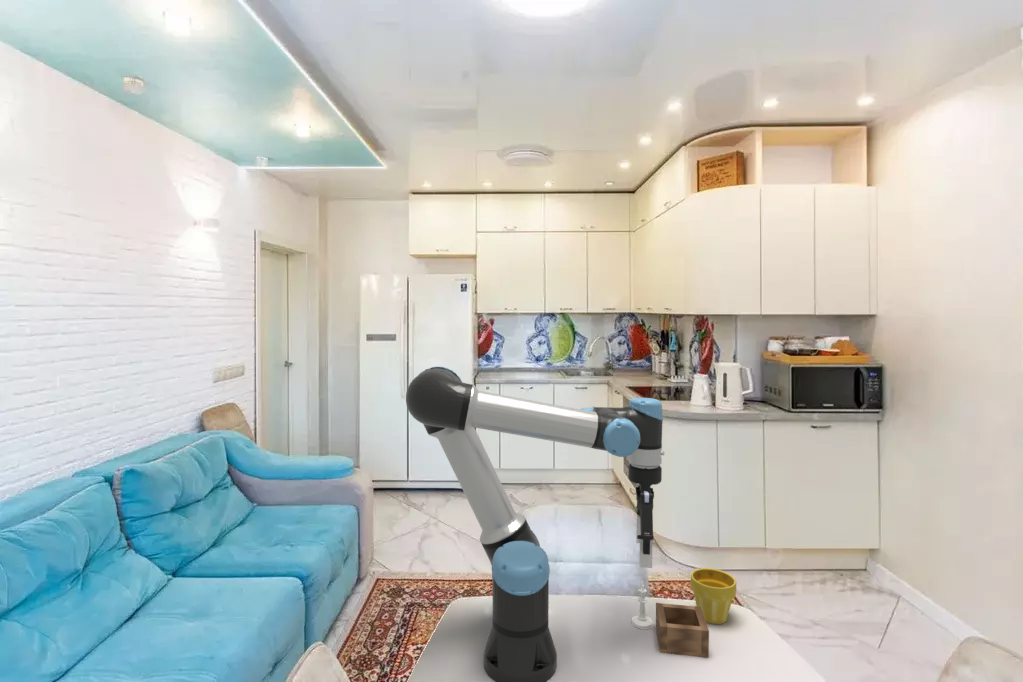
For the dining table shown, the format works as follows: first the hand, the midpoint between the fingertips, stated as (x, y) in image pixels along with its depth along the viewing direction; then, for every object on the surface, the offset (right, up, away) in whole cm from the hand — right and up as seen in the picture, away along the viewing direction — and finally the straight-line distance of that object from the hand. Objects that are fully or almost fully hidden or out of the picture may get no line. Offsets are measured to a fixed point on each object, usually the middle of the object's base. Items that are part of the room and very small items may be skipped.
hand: (643, 554), depth 126 cm
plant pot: (+18, -17, +4) cm, 25 cm away
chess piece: (0, -17, +1) cm, 17 cm away
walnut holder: (+7, -17, -7) cm, 19 cm away
